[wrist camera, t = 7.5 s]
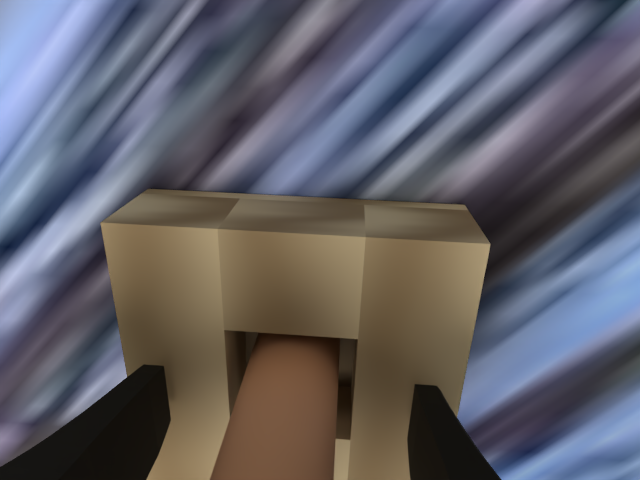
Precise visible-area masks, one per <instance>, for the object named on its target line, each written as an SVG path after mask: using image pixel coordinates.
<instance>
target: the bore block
mask: <svg viewBox="0 0 640 480" xmlns="http://www.w3.org/2000/svg"><path fill="white" fill-rule="evenodd" d="M101 228H102V234H103V240H104V246H105V251H106V257H107V263H108V269H109V274H110V280H111V286H112V292H113V297H114V303H115V309H116V315H117V320H118V326H119V332H120V338H121V343H122V349H123V355H124V361H125V366H126V372H127V377H128V376H129V375H131V374H132V373H133V372H134V371H136V370H137V369H138V368H139V367H141V366H142V365H143V364H146V365H159V366H164V370H165V377H166V385H167V393H168V400H169V408H170V415H171V422H170V425H169V427H168V430H167V433H166V436H165V439H164V442H163V444H162V447H161V450H160V452H159V455H158V457H157V459H156V461H155V463H154V465H153V467H152V469H151V471H150V473H149V475H148V477H147V479H146V480H210V477H211V474H212V471H213V468H214V465H215V462H216V459H217V456H218V453H219V450H220V447H221V444H222V441H223V438H224V435H225V432H226V429H227V426H228V423H229V420H230V417H231V414H232V411H233V408H234V405H235V402H236V399H237V396H238V392H239V389H240V386H241V383H242V380H243V377H244V374H245V371H246V368H247V365H248V362H249V359H250V356H251V353H252V350H253V347H254V344H255V341H256V338H257V335H258V332H260V333H274V334H289V335H304V336H319V337H333V338H340V357H339V378H338V399H337V420H336V440H335V461H334V480H411V479H410V472H409V459H408V444H407V436H408V429H409V422H410V414H411V407H412V400H413V393H414V386H415V384H421V385H435V386H438V388H439V389H440V390H441V392H442V394H443V395H444V397H445V399H446V401H447V402H448V404H449V406H450V407H451V409H452V411H453V412H454V414H455V415H456V417H457V415H458V409H459V404H460V399H461V394H462V389H463V384H464V379H465V373H466V368H467V363H468V358H469V353H470V348H471V343H472V337H473V332H474V327H475V322H476V317H477V312H478V307H479V301H480V296H481V291H482V286H483V281H484V276H485V270H486V265H487V260H488V255H489V250H490V245H491V244H490V242H489V241H488V239H487V238H486V236H485V235H484V233H483V232H482V230H481V229H480V227H479V226H478V224H477V223H476V221H475V220H474V218H473V217H472V215H471V214H470V212H469V211H468V209H467V208H466V206H465V205H459V204H439V203H419V202H400V201H380V200H360V199H340V198H321V197H301V196H281V195H262V194H242V193H222V192H203V191H183V190H163V189H147V190H146V191H144V192H143V193H142V194H140V195H139V196H137V197H136V198H135V199H133V200H132V201H130V202H129V203H127V204H126V205H125V206H123V207H122V208H120V209H119V210H118V211H116V212H115V213H113V214H112V215H111V216H109V217H108V218H106V219H105V220H103V221H102V222H101Z"/></svg>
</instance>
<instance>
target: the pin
mask: <svg viewBox="0 0 640 480" xmlns="http://www.w3.org/2000/svg"><path fill="white" fill-rule="evenodd" d="M339 357H340V338H333V337H319V336H304V335H289V334H274V333H260V332H258V335H257V338H256V341H255V344H254V347H253V350H252V353H251V356H250V359H249V362H248V365H247V368H246V371H245V374H244V377H243V380H242V383H241V386H240V389H239V392H238V396H237V399H236V402H235V405H234V408H233V411H232V414H231V417H230V420H229V423H228V426H227V429H226V432H225V435H224V438H223V441H222V444H221V447H220V450H219V453H218V456H217V459H216V462H215V465H214V468H213V471H212V474H211V477H210V480H334V461H335V440H336V420H337V399H338V378H339Z"/></svg>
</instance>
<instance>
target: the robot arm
mask: <svg viewBox="0 0 640 480" xmlns="http://www.w3.org/2000/svg"><path fill="white" fill-rule="evenodd" d="M170 422H171V415H170V408H169V400H168V393H167V385H166V377H165V370H164V366H159V365H146V364H143V365H142V366H141V367H139V368H138V369H137V370H136V371H134V372H133V373H132V374H131V375H129V376H128V377H127V378H126V379H124V380H123V381H122V382H121V383H119V384H118V385H117V386H116V387H114V388H113V389H112V390H111V391H109V392H108V393H107V394H106V395H104V396H103V397H102V398H101V399H99V400H98V401H97V402H95V403H94V404H93V405H92V406H90V407H89V408H88V409H86V410H85V411H84V412H83V413H81V414H80V415H78V416H77V417H76V418H74V419H73V420H71V421H70V422H69V423H67V424H66V425H65V426H63V427H62V428H60V429H59V430H58V431H56V432H55V433H53V434H52V435H51V436H49V437H48V438H46V439H45V440H43V441H42V442H40V443H39V444H37V445H36V446H34V447H33V448H31V449H29V450H28V451H26V452H25V453H23V454H21V455H20V456H18V457H16V458H15V459H13V460H12V461H10V462H8V463H7V464H5V465H3V466H1V467H0V480H146V479H147V477H148V475H149V473H150V471H151V469H152V467H153V465H154V463H155V461H156V459H157V457H158V455H159V452H160V450H161V447H162V444H163V442H164V439H165V436H166V433H167V430H168V427H169V425H170ZM407 444H408V459H409V472H410V479H411V480H501V479H500V477H499V476H498V475H497V474H496V472H495V471H494V470H493V468H492V467H491V466H490V465H489V463H488V462H487V461H486V459H485V458H484V457H483V455H482V454H481V452H480V451H479V450H478V448H477V447H476V445H475V444H474V442H473V441H472V440H471V438H470V437H469V435H468V434H467V432H466V431H465V429H464V428H463V426H462V425H461V423H460V422H459V420H458V419H457V417H456V415H455V414H454V412H453V411H452V409H451V407H450V406H449V404H448V402H447V401H446V399H445V397H444V395H443V394H442V392H441V390H440V389H439V388H438V386H435V385H421V384H415V386H414V393H413V400H412V407H411V414H410V422H409V429H408V436H407Z"/></svg>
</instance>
